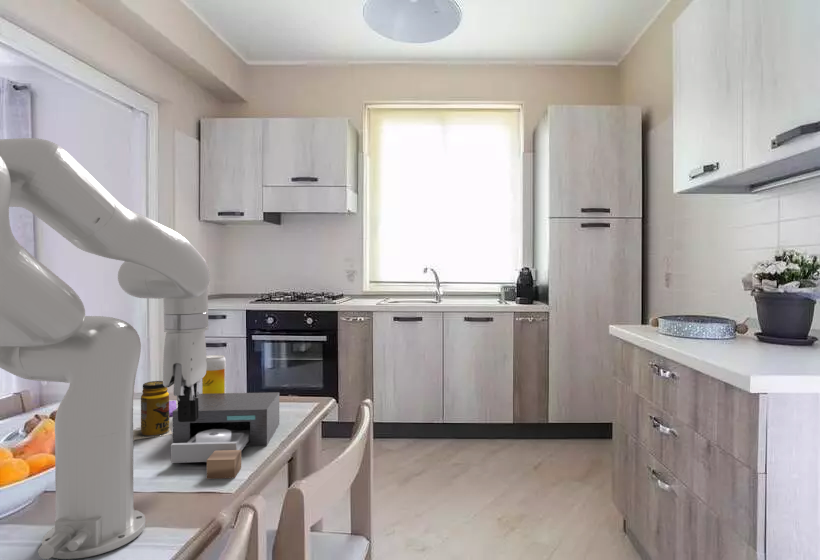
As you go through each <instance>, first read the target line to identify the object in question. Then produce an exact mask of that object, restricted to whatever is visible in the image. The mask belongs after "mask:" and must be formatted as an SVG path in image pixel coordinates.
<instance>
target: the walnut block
mask: <svg viewBox="0 0 820 560" xmlns="http://www.w3.org/2000/svg"><path fill="white" fill-rule="evenodd" d="M241 470H242V451H241V450H221V451H214V452H213V453H212V455H211V456H210V457H209V458H208V459H207V462H206V480H218V479H224V480H225V479H235V478H236V477H237V476H238V474H239V473H240V471H241Z"/></svg>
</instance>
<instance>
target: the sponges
mask: <svg viewBox="0 0 820 560" xmlns="http://www.w3.org/2000/svg"><path fill="white" fill-rule="evenodd" d="M177 408H178V407H177V399H176V400H169V418H173V411H174V410H175V409H177Z"/></svg>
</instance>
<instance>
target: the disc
mask: <svg viewBox="0 0 820 560" xmlns="http://www.w3.org/2000/svg"><path fill="white" fill-rule="evenodd" d="M202 442H231V431H230V430H227V429H211V430H206V431H202V432H200V433H198V434H197V435H196V443H202Z"/></svg>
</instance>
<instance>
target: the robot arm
mask: <svg viewBox="0 0 820 560" xmlns="http://www.w3.org/2000/svg"><path fill="white" fill-rule="evenodd" d="M15 207H16V208H22V209H25V210H27V211H29V212H30V213H32V214H33V215H34V216H35V217H36V218H38V219H39V220H41V221H42V222H44V223H45V224H46V225H47V226H49V227H50V228H51V229H52V230H53V231H54V232H55V231H56V232H57V233H58V234H59V235H61V237H63V238H64V239H65V240H67V241H68V242H69V243H70V244H72V245H73V246H74V247H76V249H79V250H82V251H84V252H85V253H88V254H92V255H95V256H98V257H102V258H106V259H111V260H116V261H121V262H122V263H121V265H120V266H119V269H118V272H117V281H118V285H119V286H120V288H121V289H122V290H123V291H124V293H126V294H127V295H129V296H132V297H135V298H137V299H138V298H139V299H154V300H155V299H161V300H162V299H163V331H164V333H165V338H164V347H163V359H162V361H163V362H162V363H163V364H162V381H163V385H164V387H167V388H170V387H172V386H173V385H174V386H173V395H174V396H175V397H176V402H177V408H178V421H179V422H194V421H196V420H197V419H198V418H199V405H198V398H195V397H198V395H199V394H200V382H201V380H202V378H203V377H204V376H205V374H206V367H207V359H206V356H207V343H206V333H205V331H208V330H209V295H208V294H209V293H208V292H209V290H208V288H209V286H210V285H209V284H210V281H211V280H210V279H211V278H210V277H211V276H210V275H211V274H210V269H209V266H208V264H207V263H208V262H207V260H206V259H205V258H204V257H203V255H201V253H200V252H199V251H198V249H197V248H196V247H194V245H193V244H192V243H191V242H190V241H189V240H188V239H186V238H185V237H184V236H182V235H181V234H180V233H178V231H175V230H173V229H171V228H170V227H167V226H166V225H163V224H161V223H159V222H157V221H155V220H153V219H151V218H149V217H147V216H145V215H143V214H140V213H138V212H135V211H133V210H131V209H128V208H127V207H125V206H124V205H122V203H120V202H119V201H118V200H117V198H115V197H114V195H112V194H111V193H110V192H109V191H108V189H106V188H105V187H104V186H103V185H102V184H101V183H100V182H99V181H97V179H95V177H94V176H93V175H92V174H90V172H89V171H88V170H87V169H85V167H83V165H82V164H80V163H79V162H78V160H76V159H75V158H74V157H73V156H72V155H71V154H70V153H69V152H68V151H66V149H64V148H63V147H62V146H60V145H59V144H57V143H55V142H53V141H51V140H46V139H43V138H36V137H35V138H34V137H23V138H21V137H20V138H2V139H0V369H1V370H4V371H6V372H8V373H10V374H12V375H14V376H16V377H19V378H21V379H24V380H28V381H36V382H49V383H50V382H56V383H65V384H69V386H68V389H67V391H66V393H65V395H64V396H63V398H62V400H61V402H60V404H59V405H58V407H57V410H56V414H55V418H54V419H55V420H54V445H55V446H54V449H55V451H54V457H55V458H54V459H55V462H54V463H55V465H54V467H55V469H54V470H55V471H54V473H55V482H54V483H55V485H54V486H55V521H54V526H53V527H52V528H51V529H50V530H48V531H47V533H45V535H44V536H43V537H42V540H41V546H39V548H38V552H37V554H38V555H39V557H40V558H41V559H43V560H49V559H51V558H54V559H59V560H75V559H78V560H79V559H83V558H89V557H95V556H99V555H102V554H105V553H109V552H111V551H113V550H116V549H118V548H122V547H123V546H125V545H128V543H131V542H132V541H133V540H135V539H136V538H137V537H138V536H140V535H141V534H142V533H143V531H144V529H145V528H146V516H145V514H144V513H142V511H139V510H137V509H135V508H134V503H135V502H134V496H135V495H134V440H133V430H134V395H135V392H134V391H135V383H136V377H137V373H138V372H137V371H138V367H139V363H140V357H141V349H142V345H141V344H142V343H141V338H140V335H139V333H138V331H137V330H136V329H135V328H134V326H133V325H131V324H130V323H129V322H127V321H124V320H122V319H119V318H118V317H117V318H116V317H111V316H103V315H102V316H100V315H86V309H85V305H84V302H83V301H82V299H81V297H80V295H78V293H77V292H76V291H75V290H74V289H73V288H72V287H71V286H70V285H69V284H67V283H66V282H65V281H64V280H63V279H62V278H60V277H59V276H58V275H56V274H55V273H54V272H53V271H51V269H49V268H48V267H47V266H45V265H44V264H43V263H42V262H41V261H39V259H37V258H36V257H34V256H33V255H32V254H31V253H30V252H29V251H27V249H26V248H25V247H24V246H23V245H21V244H20V243H19V241H18V240H17V239H16V238H15V236H14V234H13V231H12V227H11V223H10V208H15ZM174 396H173V397H174Z"/></svg>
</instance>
